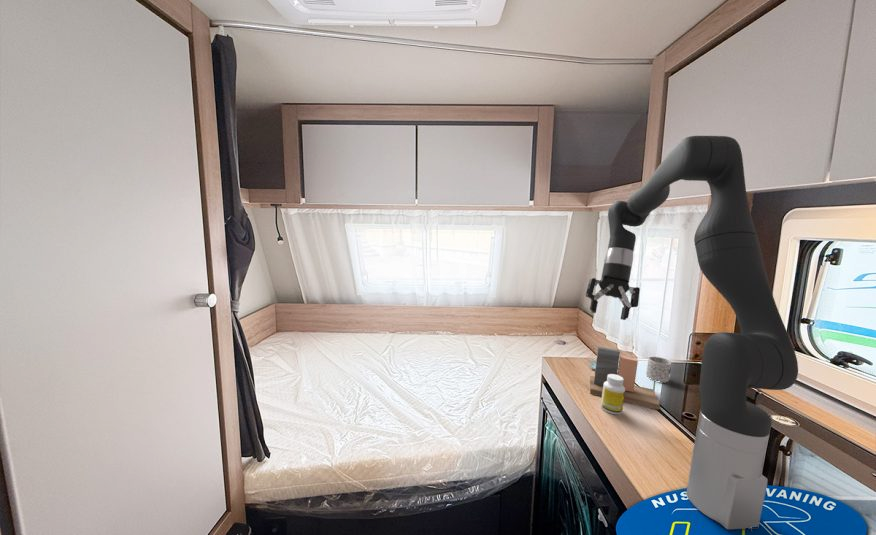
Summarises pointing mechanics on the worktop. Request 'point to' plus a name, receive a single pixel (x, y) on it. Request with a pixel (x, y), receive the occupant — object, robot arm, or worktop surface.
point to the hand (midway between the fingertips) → (608, 316)
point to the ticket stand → (609, 365)
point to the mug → (658, 369)
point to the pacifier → (593, 363)
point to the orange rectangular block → (628, 372)
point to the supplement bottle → (613, 394)
